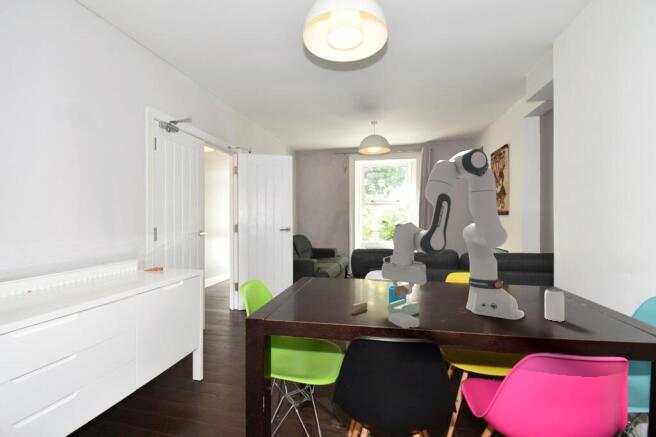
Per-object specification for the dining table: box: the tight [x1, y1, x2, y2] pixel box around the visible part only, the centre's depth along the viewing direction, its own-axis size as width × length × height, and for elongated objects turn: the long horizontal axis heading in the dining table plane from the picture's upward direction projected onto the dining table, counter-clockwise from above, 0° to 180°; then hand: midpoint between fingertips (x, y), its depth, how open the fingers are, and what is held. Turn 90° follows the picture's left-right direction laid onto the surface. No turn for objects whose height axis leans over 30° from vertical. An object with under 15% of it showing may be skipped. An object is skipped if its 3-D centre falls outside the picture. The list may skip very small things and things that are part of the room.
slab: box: [387, 312, 420, 329], centre depth 120 cm, size 10×7×3 cm
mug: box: [388, 285, 407, 304], centre depth 149 cm, size 12×8×8 cm
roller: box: [393, 283, 413, 297], centre depth 133 cm, size 4×8×4 cm, turn 134°
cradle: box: [387, 299, 420, 316], centre depth 133 cm, size 8×11×4 cm
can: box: [544, 288, 565, 323], centre depth 125 cm, size 6×6×12 cm
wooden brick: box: [351, 300, 368, 315], centre depth 135 cm, size 2×8×4 cm, turn 134°
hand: (402, 291), depth 133 cm, fingers closed on roller, 4 cm apart
